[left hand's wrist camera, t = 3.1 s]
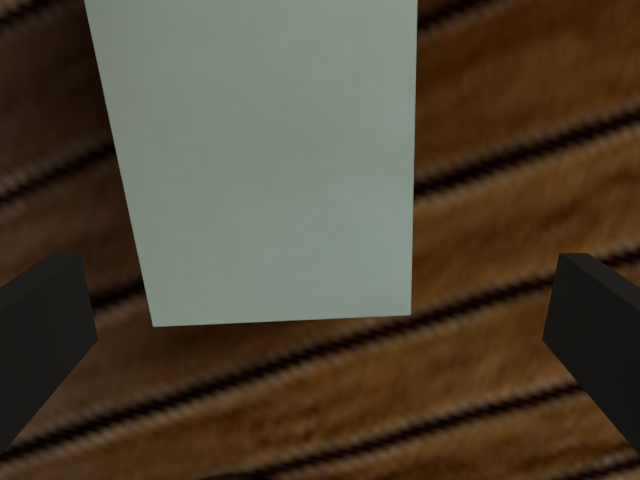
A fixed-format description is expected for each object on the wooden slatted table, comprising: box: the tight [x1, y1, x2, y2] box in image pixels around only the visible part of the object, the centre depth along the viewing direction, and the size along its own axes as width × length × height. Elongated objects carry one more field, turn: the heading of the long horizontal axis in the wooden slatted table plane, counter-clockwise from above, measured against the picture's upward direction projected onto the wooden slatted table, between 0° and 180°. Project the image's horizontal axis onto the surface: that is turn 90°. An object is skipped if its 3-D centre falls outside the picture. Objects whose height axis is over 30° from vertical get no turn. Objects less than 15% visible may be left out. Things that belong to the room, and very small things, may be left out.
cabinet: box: [84, 0, 417, 327], centre depth 19 cm, size 22×11×9 cm, turn 3°
